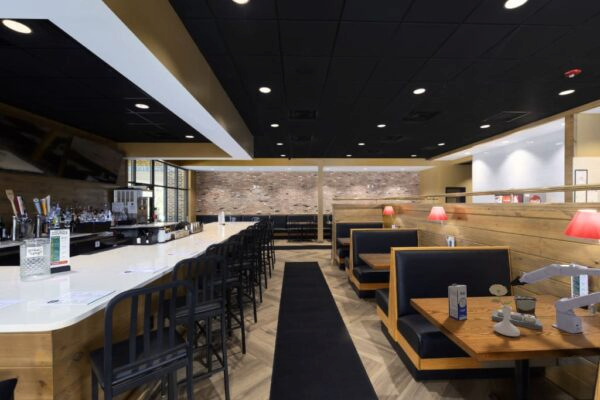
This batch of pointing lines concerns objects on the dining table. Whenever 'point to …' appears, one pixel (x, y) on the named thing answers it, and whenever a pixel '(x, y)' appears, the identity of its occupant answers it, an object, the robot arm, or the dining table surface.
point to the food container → (525, 304)
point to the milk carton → (457, 302)
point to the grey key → (516, 315)
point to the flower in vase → (505, 325)
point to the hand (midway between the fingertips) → (513, 283)
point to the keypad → (519, 321)
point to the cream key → (529, 318)
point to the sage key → (500, 313)
